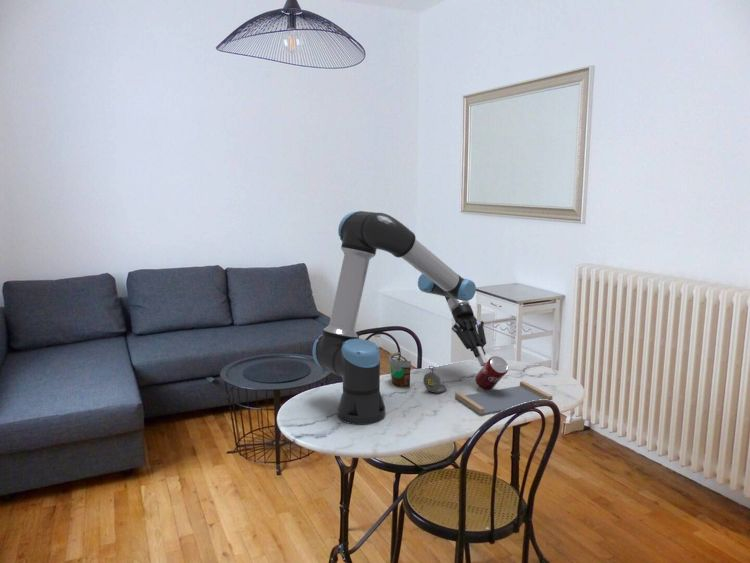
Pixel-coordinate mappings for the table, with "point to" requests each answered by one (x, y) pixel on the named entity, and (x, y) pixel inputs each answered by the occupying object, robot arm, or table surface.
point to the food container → (400, 370)
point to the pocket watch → (433, 382)
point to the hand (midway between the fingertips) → (484, 364)
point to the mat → (501, 398)
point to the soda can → (491, 373)
